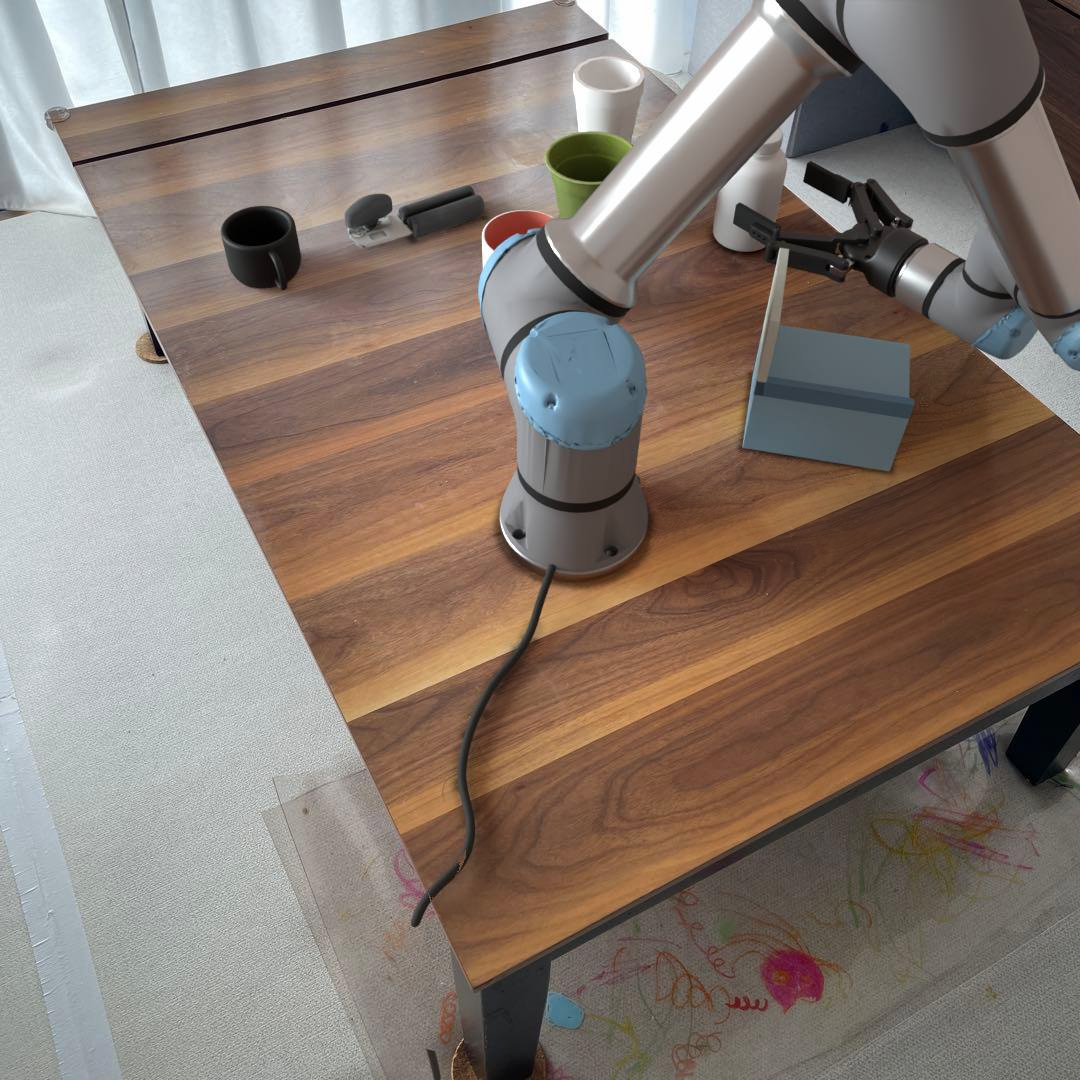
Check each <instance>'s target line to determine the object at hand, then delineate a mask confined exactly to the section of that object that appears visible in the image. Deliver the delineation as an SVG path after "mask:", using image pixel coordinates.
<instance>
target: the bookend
mask: <svg viewBox="0 0 1080 1080" xmlns="http://www.w3.org/2000/svg"><path fill="white" fill-rule="evenodd" d="M788 256H789V249H785V248H780V249H779V254H778V259H777V264H775V269H774V274H773V278H772V282H771V289H770V292H769V297H768V302H767V306H766V311H765V315H764V320H763V325H762V330H761V334H760V340H759V344H758V348H757V349H758V350H757V353H756V354H757V355H756V358H755V363H754V364H755V365H754V368H753V373H752V379H751V384H750V385H751V386H750V391H749V392H750V393H749V399H748V405H747V411H746V418H745V419H746V420H745V427H744V432H743V440H742V446H741V447H742V449H747V450H753V451H760V452H766V453H772V454H777V455H785V456H790V457H791V456H792V457H797V458H803V459H808V460H815V461H821V462H828V463H833V464H839V465H847V466H851V467H857V468H864V469H870V470H876V471H883V472H891V469H892V467H893V463H894V461H895V459H896V455H897V453H898V451H899V447H900V445H901V442H902V439H903V436H904V434H905V431H906V428H907V426H908V423H909V420H910V418H911V416H912V412H913V410H914V407H915V398H914V397H913V398H912V397H910V385H911V384H910V383H911V382H910V380H911V379H910V378H911V377H910V372H911V371H910V370H911V344H910V343H905V342H897V341H892V340H884V339H878V338H870V337H864V336H857V335H850V334H844V333H837V332H830V331H823V330H817V329H811V328H810V329H809V328H803V327H796V326H790V325H782V324H781V318H782V309H783V301H784V293H785V285H786V279H787V271H788V267H787V264H788Z"/></svg>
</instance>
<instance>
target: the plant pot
mask: <svg viewBox="0 0 1080 1080" xmlns="http://www.w3.org/2000/svg"><path fill="white" fill-rule="evenodd" d="M633 146H634V144H633V143H632V142H631V143H630V142H629V141H627V140H626V139H624V138H622V137H619V136H617V135H614V134H610V133H605V132H597V131H588V132H579V131H578V132H572V133H569V134H567V135H563V136H562V137H559V138H557V139H556V140H554V141H553V142H552V143H551V144H550V145H548V147H547V148H546V150H545V153H544V163H545V165H546V167H547V169H548V170H549V172H550V176H551V177H550V178H551V180H552V182H553V185H554V191H555V197H556V201H557V208H558V214H559V218H568V217H572V216H573V215H574V214H575V213H576V212H577V211H578V210H579V208H580V207H581V206H582V205H583V204H584V203H585V201H586V200H587V199H588V198H589V197H590V196H591V195H592V193H593V192H594V191H595V190H596V189H597V188H598V186H599V185H600V184H601V183H602V182H603V181H604V179H605V178H606V177H607V176H608V175H609V174H610V172H611V171H612V170H613V169H614V168H615V167H616V165H617V164H618V163H619V162H620V161H621V160H622V159H623V157H624V156H625V155H626V154H627V153H628V152H629V150H630V149H631V148H632V147H633Z"/></svg>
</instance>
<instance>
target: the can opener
mask: <svg viewBox="0 0 1080 1080" xmlns="http://www.w3.org/2000/svg"><path fill="white" fill-rule="evenodd" d="M392 200H393V199H392V198H391V196H390V195H388V194H386V193H372V194H371V193H370V194H367V195H365V196H363V197H360V198H358V199H357V200H356V201H355V202H353V203H352V204H351V205H349V207H348V208H347V209H346V210H345V212H344V225H345V227H347V233H348V237H349V239H350V242H351V243H352V244H354V245H355V246H356V247H358V248H360V249H363V250H368V249H371V248H375V247H378V246H381V245H383V244H387V243H390V242H393V241H396V240H399V239H402V238H405V237H408V236H410V238H412V239H413V240H416V239H419V238H423V237H426V236H429V235H432V234H435V233H437V232H440V231H443V230H446V229H448V228H451V227H454V226H457V225H460V224H464V223H465V222H468V221H472V220H474V219H477V218H480V217H482V216H483V215H484V214H485V208H486V207H485V206H486V205H485V200H484V198H483V197H482V196H481V195H479V194H476V192H475V189H474V187H472V186H471V185H464V186H461V187H457V188H455V189H451V190H448V191H446V192H442V193H440V194H436V195H434V196H431V197H427V198H424V199H421V200H417V201H415V202H413V203H412V202H411V203H409V204H406V205H403V206H401V207H399V208H398V212H397V213H398V214H391V213H392V212H393V201H392ZM390 214H391V215H390ZM380 219H384V220H380Z"/></svg>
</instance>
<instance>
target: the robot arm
mask: <svg viewBox="0 0 1080 1080" xmlns="http://www.w3.org/2000/svg"><path fill="white" fill-rule="evenodd" d="M1035 43H1036V42H1035V40H1034V38H1033V35H1032V32H1031V30H1030V27H1029V24H1028V21H1027V18H1026V15H1025V12H1024V10H1023V7H1022V4H1021V2H1020V0H752V4H751V8H750V10H749V11H747V13H746V14H745V16H744V17H743V18H742V19H741V20H740V21H739V22H738V24H736V26H735V27H734V28H733V30H732V31H730V33H729V34H728V35H727V36H726V38H725V39H724V40H723V41H722V42H721V43H720V44H719V46H717V48H716V49H715V50H714V51H713V53H712V54H711V55H710V56H709V57H708V58H707V59H706V61H705V62H704V63H703V64H702V65H701V67H700V68H699V69H698V70H696V73H695V74H694V75H693V76H692V77H690V79H689V80H688V82H687V83H686V84H685V85H684V87H682V88H681V90H680V91H679V92H678V93H677V94H676V96H675V97H674V98H673V99H672V100H671V102H669V103H668V105H667V106H666V107H665V109H663V111H662V112H661V113H660V114H659V116H657V118H656V119H655V120H654V121H653V122H652V123H651V124H650V126H649V127H648V128H647V129H646V131H644V133H643V134H642V135H641V136H640V137H639V139H638V140H637V141H636V142H635V144H633V147H632V148H631V149H630V150H629V152H628V153H627V154H626V155H625V156H624V157H623V159H622V160H621V161H620V162H619V163H618V164H617V165H616V167H615V168H614V169H613V170H612V171H611V172H610V174H609V175H608V176H607V177H606V178H605V179H604V181H603V182H602V183H601V184H600V185H599V186H598V188H597V189H596V190H595V191H594V192H593V193H592V195H591V196H590V197H589V198H588V199H587V200H586V201H585V203H584V204H583V205H582V206H581V207H580V208H579V210H578V211H577V212H576V213H575V214H574V215H573V216H572V217H568V218H560V217H554V218H552V219H550V220H549V221H548V222H547V223H546V224H545V225H544V226H543V227H542V228H535V229H530V230H528V232H527V234H523V235H520V234H518V233H517V234H515V235H513V236H511V237H510V238H508V239H507V240H505V241H504V242H503V243H501V244H500V245H499V246H498V247H497V248H496V249H495V250H494V251H493V253H492V254H491V255H490V257H489V258H488V260H487V261H486V263H485V265H484V267H483V266H482V269H481V273H480V275H479V280H478V286H477V287H478V288H477V290H478V292H477V293H478V294H477V295H478V302H479V303H478V304H479V313H480V317H481V320H482V326H483V329H484V331H485V333H486V335H487V337H488V339H489V341H490V344H491V347H492V350H493V353H494V356H495V360H496V363H497V366H498V370H499V372H500V375H501V377H502V381H503V383H504V386H505V390H506V393H507V395H508V396H507V397H508V399H509V402H510V405H511V408H512V411H513V416H514V420H515V428H516V469H515V471H514V473H513V475H512V478H511V479H510V481H509V484H508V486H507V488H506V490H505V492H504V493H503V496H502V499H501V502H500V505H499V506H500V507H499V530H500V535H501V538H502V541H503V544H504V546H505V547H506V549H507V551H508V552H509V554H510V555H511V556H512V557H513V558H514V560H515V561H516V562H518V563H519V564H520V565H521V566H523V567H524V568H525V569H527V570H529V571H531V572H532V573H535V574H536V575H539V576H541V577H543V580H542V583H541V586H540V589H539V591H538V594H537V597H536V600H535V603H534V605H533V609H532V613H531V616H530V620H529V622H528V626H527V629H526V630H525V633H524V635H523V636H522V639H521V641H520V642H519V644H518V646H517V647H516V648H515V649H514V652H513V653H512V654H511V655H510V657H509V658H508V659H507V660H506V662H504V664H503V665H502V666H501V667H500V668H499V670H498V671H497V672H496V673H495V674H494V675H493V677H492V678H491V679H490V681H489V682H488V684H487V685H486V687H485V688H484V691H483V692H482V694H481V696H480V697H479V700H478V702H477V703H476V706H475V708H474V710H473V712H472V714H471V716H470V719H469V721H468V723H467V725H466V729H465V731H464V735H463V738H462V742H461V745H460V750H459V755H458V762H457V770H456V771H457V785H458V791H459V796H460V800H461V805H462V810H463V814H464V820H465V837H464V842H463V847H462V849H461V851H460V854H459V855H458V858H456V860H455V862H456V861H457V860H458V859H459V858H460V856H461V855H462V854H463V853H464V852H465V850H466V858H465V860H464V863H463V865H462V867H461V869H460V871H459V867H460V865H459V863H460V862H458V863H455V862H454V863H453V864H452V865H451V866H450V867H449V868H448V870H446V872H445V873H444V874H442V875H441V876H440V877H439V878H438V879H437V880H436V881H434V883H433V884H432V885H430V887H429V888H428V889H427V890H428V891H427V890H426V891H425V893H424V894H423V895H422V897H421V898H420V900H419V901H418V903H417V905H416V907H415V909H414V911H413V914H412V917H411V920H410V926H411V927H413V928H417V927H419V925H421V923H422V919H423V917H424V915H425V913H426V911H427V909H428V907H429V906H430V904H431V903H432V901H433V900H434V899H435V898H436V896H437V895H438V894H439V893H440V892H441V891H443V889H444V888H445V887H447V886H448V885H449V884H450V883H451V881H453V880H454V879H455V878H456V877H457V875H459V874H460V872H461V871H462V870H463V869H464V867H465V866H466V864H467V862H468V861H469V859H470V857H471V855H472V852H473V850H474V849H473V848H474V844H475V840H476V819H475V813H474V809H473V805H472V804H473V803H472V801H471V796H470V792H469V787H468V779H467V777H468V776H467V771H468V769H467V768H468V761H469V755H470V749H471V746H472V742H473V738H474V735H475V732H476V730H477V728H478V724H479V722H480V720H481V718H482V715H483V713H484V711H485V710H486V707H487V705H488V703H489V702H490V700H491V698H492V696H493V694H494V692H495V691H496V689H497V688H498V686H499V685H500V683H501V682H502V681H503V680H504V678H505V677H506V676H507V675H508V674H509V672H510V671H511V670H512V669H513V668H514V666H515V665H516V664H517V663H518V662H519V660H520V659H521V658H522V656H523V655H524V653H525V652H526V650H527V649H528V647H529V645H530V644H531V642H532V640H533V637H534V635H535V633H536V630H537V627H538V624H539V621H540V617H541V614H542V611H543V608H544V604H545V601H546V599H547V596H548V593H549V590H550V586H551V585H552V581H553V580H554V581H560V582H565V583H567V582H568V583H583V582H584V583H585V582H593V581H596V580H601V579H604V578H607V577H610V576H612V575H614V574H616V573H618V572H620V571H621V570H623V569H624V568H626V567H627V566H628V565H629V564H630V563H631V562H633V561H634V560H635V559H636V558H637V556H638V555H639V553H640V552H641V551H642V549H643V546H644V544H645V541H646V539H647V533H648V527H649V526H648V524H649V509H648V505H647V501H646V498H645V496H644V493H643V490H642V488H641V479H642V478H641V476H639V475H637V474H636V472H637V463H638V455H639V449H640V439H641V431H642V425H643V424H642V423H643V416H644V410H645V405H646V400H647V394H648V388H647V383H648V382H647V376H646V375H647V374H646V363H645V358H644V353H643V352H642V350H641V347H640V346H639V344H638V342H637V341H636V339H635V338H634V337H633V335H632V334H631V333H630V332H629V331H628V330H627V329H626V328H625V327H623V326H622V325H620V324H619V322H620V321H621V320H622V319H623V318H624V317H625V316H626V315H627V314H628V313H629V311H631V310H632V308H634V306H636V305H637V303H638V299H639V289H638V281H639V280H638V279H639V278H640V277H641V276H642V275H643V274H644V273H645V271H647V270H648V268H649V267H650V266H652V264H653V263H654V262H655V261H657V259H658V258H659V257H660V256H661V255H662V253H664V251H665V250H666V249H667V248H668V247H669V246H670V245H671V244H672V243H673V242H674V240H676V239H677V237H679V235H680V234H681V233H682V232H683V231H684V230H685V229H686V228H687V227H688V225H690V223H692V221H693V220H694V219H695V218H696V217H697V216H698V215H699V214H700V213H701V212H702V211H703V209H704V208H705V207H706V206H707V205H709V203H710V202H711V201H712V200H713V199H714V198H715V196H717V195H718V192H719V191H720V190H721V189H722V188H723V187H724V186H725V185H726V184H727V183H728V182H729V180H730V179H731V178H732V177H733V176H734V175H735V174H736V173H737V172H738V171H739V170H740V169H741V168H742V167H743V165H744V164H745V163H746V162H747V161H748V160H749V159H750V158H751V157H752V156H753V155H754V154H755V153H756V152H757V150H758V149H759V148H760V147H761V146H762V145H763V144H764V143H765V142H766V141H767V140H768V139H769V138H770V137H771V136H772V134H773V133H774V132H775V131H776V130H777V129H778V128H780V127H781V126H782V125H783V124H784V123H785V122H786V121H787V120H788V119H789V118H790V117H791V115H793V113H795V111H796V110H797V109H798V108H799V107H800V106H801V105H802V104H803V103H804V102H805V100H806V99H808V97H809V96H810V95H811V94H812V93H813V92H814V91H815V90H816V89H817V87H818V86H819V85H820V84H821V83H823V82H825V81H827V80H836V79H837V80H838V79H849V78H851V77H852V76H853V75H854V74H856V72H857V71H858V70H859V69H860V68H861V67H862V66H863V65H864V64H866V66H868V68H870V70H872V72H873V73H874V74H875V75H876V76H877V77H878V78H879V79H880V80H881V82H883V83H884V84H885V85H886V86H887V87H888V88H889V89H890V90H891V91H892V92H893V93H894V94H895V95H896V96H897V97H898V99H899V100H900V101H901V102H902V104H903V105H904V106H905V107H906V109H907V110H908V111H909V112H910V114H911V115H912V116H913V118H914V120H915V121H916V123H917V125H918V127H919V128H920V131H921V132H922V134H923V136H924V137H925V138H926V139H927V141H929V142H930V143H931V144H933V145H934V146H936V147H938V148H943V149H946V151H947V153H948V155H949V157H950V158H951V160H952V162H953V165H954V166H955V168H956V170H957V172H958V173H959V176H960V178H961V180H962V182H963V184H964V186H965V188H966V189H967V191H968V193H969V195H970V197H971V199H972V201H973V203H974V205H975V206H976V209H977V210H978V212H979V214H980V219H979V222H978V224H977V228H976V231H975V233H974V236H973V240H972V243H971V245H970V248H969V251H968V254H967V257H966V259H965V258H962V257H961V256H959V255H958V254H956V253H954V252H952V251H950V250H948V249H946V247H943V246H941V245H939V244H937V243H936V242H929V240H928V239H927V238H925V237H924V236H923V235H920V234H919V233H916V232H914V231H913V230H912V227H913V224H914V219H913V218H912V217H911V216H909V215H907V214H906V213H904V212H903V211H901V209H900V207H899V206H898V205H897V204H896V203H895V202H894V200H893V199H892V198H891V197H890V196H889V194H888V193H887V192H886V191H885V189H884V188H883V187H882V186H881V185H880V183H879V182H878V181H877V180H876V179H874V178H867V179H866V182H861V181H855V182H854V181H852V180H851V179H848V178H846V177H845V176H842V175H841V174H838V173H834V172H832V171H830V170H828V169H827V168H825V167H823V166H821V165H819V164H818V163H815V162H814V161H812V160H810V161H808V162H807V163H806V165H805V170H804V175H803V180H802V183H804V184H806V185H807V186H810V187H811V188H813V189H815V190H817V191H819V192H820V193H823V194H824V195H826V196H828V197H830V198H831V199H833V200H835V201H837V202H839V203H840V204H842V205H844V204H846V203H847V202H848V204H847V206H848V207H851V211H852V212H853V214H854V218H855V221H856V223H855V224H854V225H853V226H852V227H851V228H849V229H846V230H844V231H843V232H837V231H836V232H833V233H832V234H830V235H827V234H817V233H804V232H793V231H783V230H782V225H781V224H779V223H777V222H776V223H775V222H773V221H772V220H770V219H768V218H766V217H765V216H763V215H761V214H759V213H758V212H756V211H754V210H753V209H751V208H749V207H747V206H746V205H744V204H742V203H738V204H736V207H735V213H734V219H733V224H734V225H736V226H738V227H739V228H741V229H743V230H745V231H746V232H748V233H749V235H750V236H751V237H752V238H754V239H755V240H758V241H759V242H760V243H762V244H764V245H765V246H766V247H765V253H764V257H763V261H764V262H766V263H768V264H773V265H776V264H777V259H778V254H779V249H780V248H785V249H789V256H788V264H787V268H790V269H794V270H799V271H803V272H806V273H810V274H815V275H820V276H823V277H826V278H827V279H830V280H832V281H834V282H836V283H838V284H839V283H840V284H842V283H844V282H845V281H846V278H847V274H849V273H850V272H851V271H855V272H856V271H857V272H860V273H862V274H863V275H864V277H865V279H866V282H867V284H868V285H869V286H870V287H872V288H874V289H875V290H877V291H879V292H880V293H882V294H884V295H886V296H887V297H889V298H895V300H896V301H897V302H898V303H900V304H902V305H904V306H905V307H907V308H908V309H911V310H912V311H914V312H916V313H917V314H919V315H921V316H923V317H924V318H926V319H928V320H929V321H931V322H932V323H934V324H936V325H937V326H939V327H940V328H942V329H944V330H946V331H947V332H949V333H951V334H952V335H953V336H956V337H957V338H959V339H960V340H961V341H964V342H965V343H967V344H969V345H970V346H971V347H972V348H975V349H977V350H979V351H982V352H983V353H985V354H987V355H990V356H992V357H994V358H996V359H998V360H1003V361H1005V360H1011V359H1013V358H1014V357H1016V356H1017V355H1018V354H1020V353H1021V352H1022V351H1023V350H1024V349H1025V348H1026V347H1027V345H1029V343H1031V341H1032V339H1033V338H1034V337H1035V335H1036V334H1037V332H1039V333H1040V334H1041V336H1042V337H1043V338H1044V340H1045V341H1046V342H1047V343H1048V345H1049V346H1050V347H1051V349H1052V352H1053V353H1054V354H1055V355H1057V356H1058V357H1059V358H1060V359H1061V360H1062V361H1063V362H1064V364H1066V366H1068V367H1069V368H1070V369H1072V370H1073V371H1074V370H1075V371H1078V372H1080V198H1079V196H1078V193H1077V191H1076V187H1075V185H1074V183H1073V180H1072V178H1071V175H1070V172H1069V170H1068V168H1067V165H1066V162H1065V160H1064V157H1063V155H1062V152H1061V149H1060V147H1059V145H1058V142H1057V139H1056V137H1055V135H1054V131H1053V129H1052V127H1051V125H1050V121H1049V119H1048V117H1047V114H1046V112H1045V108H1044V106H1043V104H1042V101H1041V97H1042V93H1043V91H1044V89H1045V83H1046V72H1045V69H1044V65H1043V62H1042V58H1041V57H1040V54H1039V51H1038V48H1037V46H1036V44H1035ZM848 199H849V201H848ZM781 230H782V231H781ZM837 247H838V252H839V253H837ZM455 864H456V865H455ZM457 871H459V872H458V873H457ZM456 874H457V875H456ZM455 875H456V876H455ZM428 893H429V895H430V897H431V900H432V901H430V898H429V895H428ZM432 897H433V898H434V899H432ZM425 1051H426V1054H427V1058H428V1061H429V1065H430V1068H431V1073H432V1078H433V1080H441V1079H442V1076H441V1075H442V1074H441V1070H440V1066H439V1060H438V1058H437V1053H436V1050H432V1049H428V1048H425Z"/></svg>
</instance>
